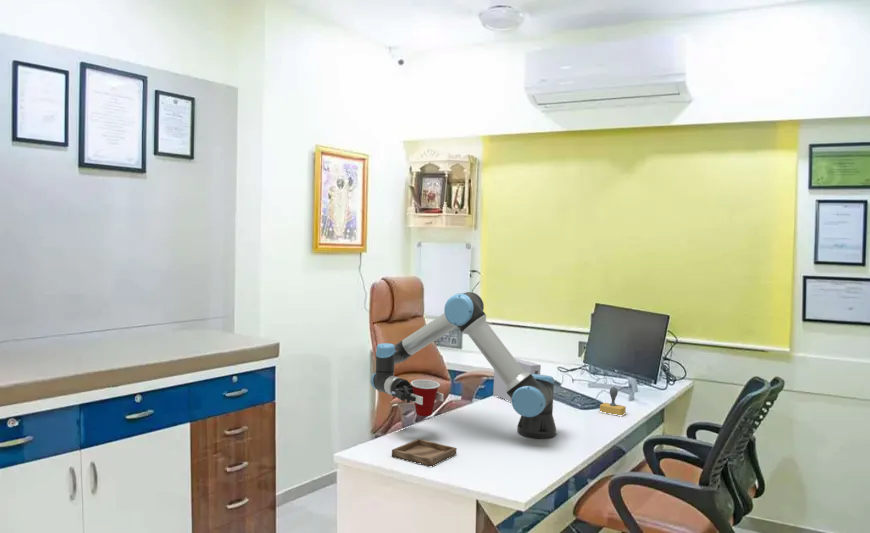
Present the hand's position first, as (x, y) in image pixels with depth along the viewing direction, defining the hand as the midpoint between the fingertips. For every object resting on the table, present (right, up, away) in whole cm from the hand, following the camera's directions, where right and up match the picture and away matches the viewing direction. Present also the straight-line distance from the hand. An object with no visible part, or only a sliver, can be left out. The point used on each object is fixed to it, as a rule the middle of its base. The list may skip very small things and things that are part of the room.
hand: (432, 399), depth 242 cm
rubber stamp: (+80, -17, +53) cm, 98 cm away
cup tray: (-3, -16, -15) cm, 22 cm away
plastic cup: (-3, -7, +4) cm, 8 cm away
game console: (+39, -15, +67) cm, 78 cm away
